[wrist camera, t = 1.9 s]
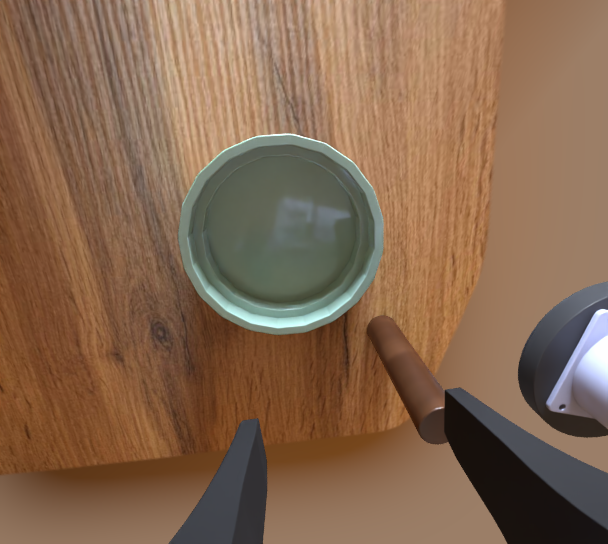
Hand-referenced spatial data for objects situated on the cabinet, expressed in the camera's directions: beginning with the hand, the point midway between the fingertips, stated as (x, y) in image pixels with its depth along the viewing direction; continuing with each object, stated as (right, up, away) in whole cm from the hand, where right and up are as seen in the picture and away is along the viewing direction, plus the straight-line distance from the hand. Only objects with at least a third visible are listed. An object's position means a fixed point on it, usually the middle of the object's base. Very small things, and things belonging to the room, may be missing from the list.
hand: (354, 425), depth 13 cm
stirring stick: (+3, +2, +10) cm, 11 cm away
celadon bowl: (-3, +8, +8) cm, 12 cm away
